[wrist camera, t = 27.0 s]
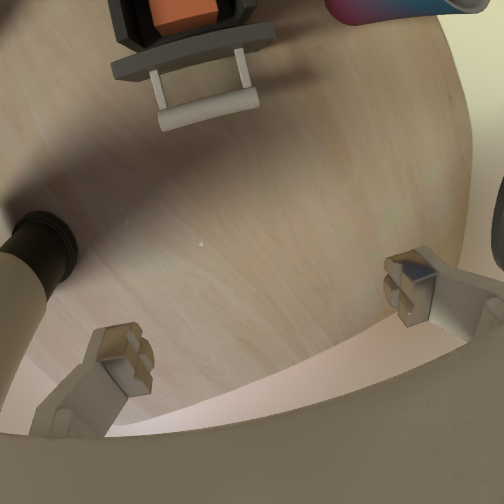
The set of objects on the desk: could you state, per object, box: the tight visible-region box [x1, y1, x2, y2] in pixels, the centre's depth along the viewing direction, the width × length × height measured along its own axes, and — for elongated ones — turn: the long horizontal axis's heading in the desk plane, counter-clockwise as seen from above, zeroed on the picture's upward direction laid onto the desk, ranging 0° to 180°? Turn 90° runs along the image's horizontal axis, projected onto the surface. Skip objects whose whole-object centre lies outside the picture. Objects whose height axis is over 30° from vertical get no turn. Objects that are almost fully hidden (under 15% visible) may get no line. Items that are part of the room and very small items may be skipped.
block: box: [148, 0, 219, 37], centre depth 17 cm, size 4×4×4 cm
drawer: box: [108, 0, 277, 132], centre depth 17 cm, size 18×10×7 cm, turn 12°
